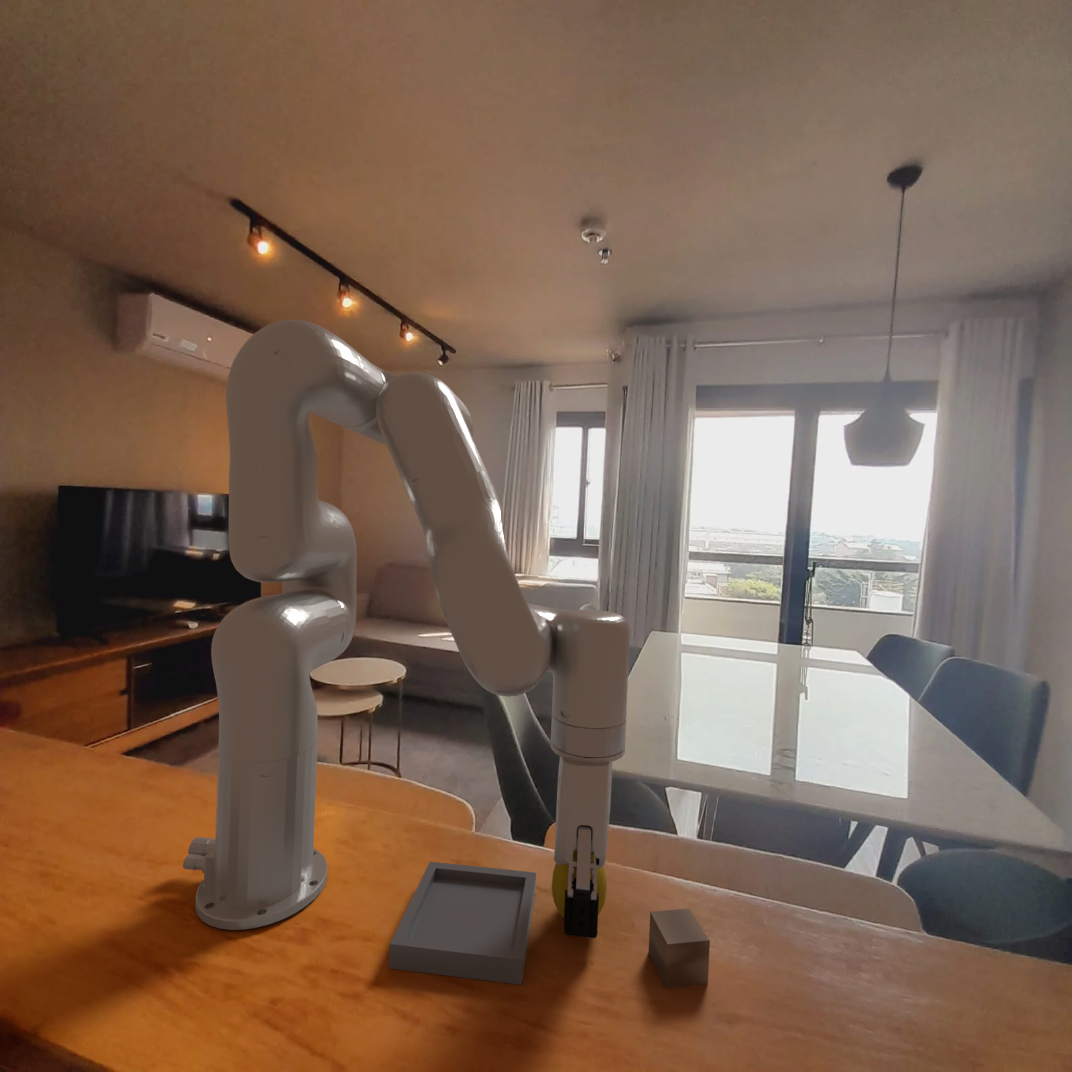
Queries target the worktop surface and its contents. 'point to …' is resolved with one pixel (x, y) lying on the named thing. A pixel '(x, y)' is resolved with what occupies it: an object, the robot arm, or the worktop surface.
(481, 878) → the dish
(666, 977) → the metal cube
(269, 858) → the robot arm
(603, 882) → the lemon
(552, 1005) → the worktop surface
